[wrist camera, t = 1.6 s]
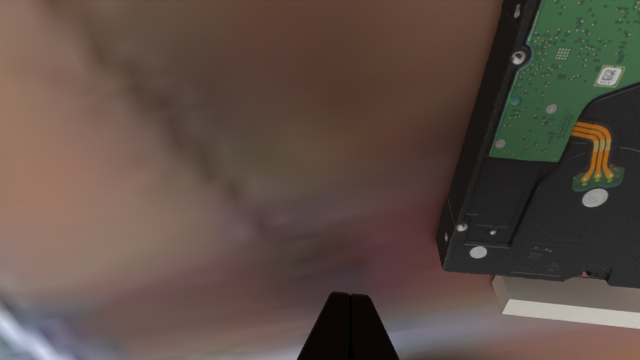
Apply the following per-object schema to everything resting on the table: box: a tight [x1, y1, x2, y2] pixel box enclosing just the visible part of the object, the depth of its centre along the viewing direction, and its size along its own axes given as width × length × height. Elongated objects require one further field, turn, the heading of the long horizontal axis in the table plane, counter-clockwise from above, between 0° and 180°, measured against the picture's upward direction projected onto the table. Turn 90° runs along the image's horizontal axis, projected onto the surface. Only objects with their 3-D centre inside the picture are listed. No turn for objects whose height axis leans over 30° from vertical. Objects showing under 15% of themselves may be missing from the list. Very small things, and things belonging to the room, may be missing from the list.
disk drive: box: [436, 0, 640, 289], centre depth 17 cm, size 10×3×15 cm
